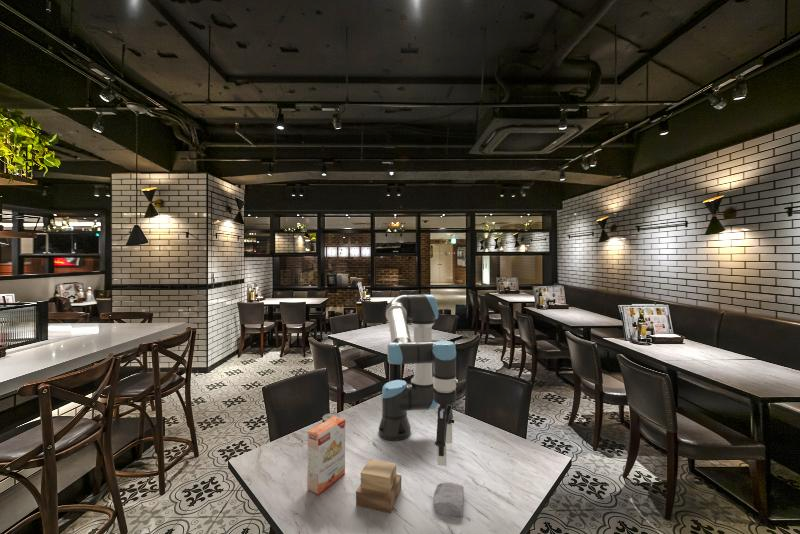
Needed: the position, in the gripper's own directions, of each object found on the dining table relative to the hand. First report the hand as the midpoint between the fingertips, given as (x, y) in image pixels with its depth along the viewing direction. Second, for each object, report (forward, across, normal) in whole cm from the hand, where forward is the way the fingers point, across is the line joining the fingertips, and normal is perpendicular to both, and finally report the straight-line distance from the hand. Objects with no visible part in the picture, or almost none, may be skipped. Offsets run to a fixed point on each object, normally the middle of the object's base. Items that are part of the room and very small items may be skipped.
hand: (445, 453), depth 108 cm
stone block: (+17, 0, -1) cm, 17 cm away
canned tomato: (+16, +23, +55) cm, 62 cm away
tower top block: (+12, -3, +22) cm, 25 cm away
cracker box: (+16, -2, +43) cm, 46 cm away
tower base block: (+17, -4, +22) cm, 28 cm away
